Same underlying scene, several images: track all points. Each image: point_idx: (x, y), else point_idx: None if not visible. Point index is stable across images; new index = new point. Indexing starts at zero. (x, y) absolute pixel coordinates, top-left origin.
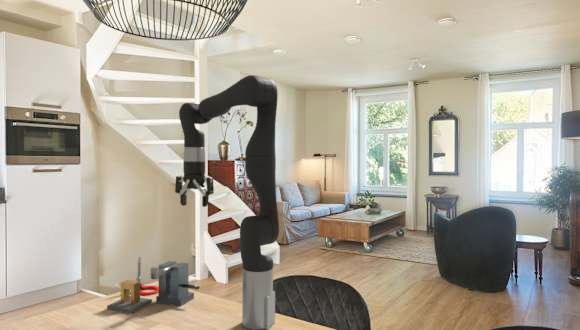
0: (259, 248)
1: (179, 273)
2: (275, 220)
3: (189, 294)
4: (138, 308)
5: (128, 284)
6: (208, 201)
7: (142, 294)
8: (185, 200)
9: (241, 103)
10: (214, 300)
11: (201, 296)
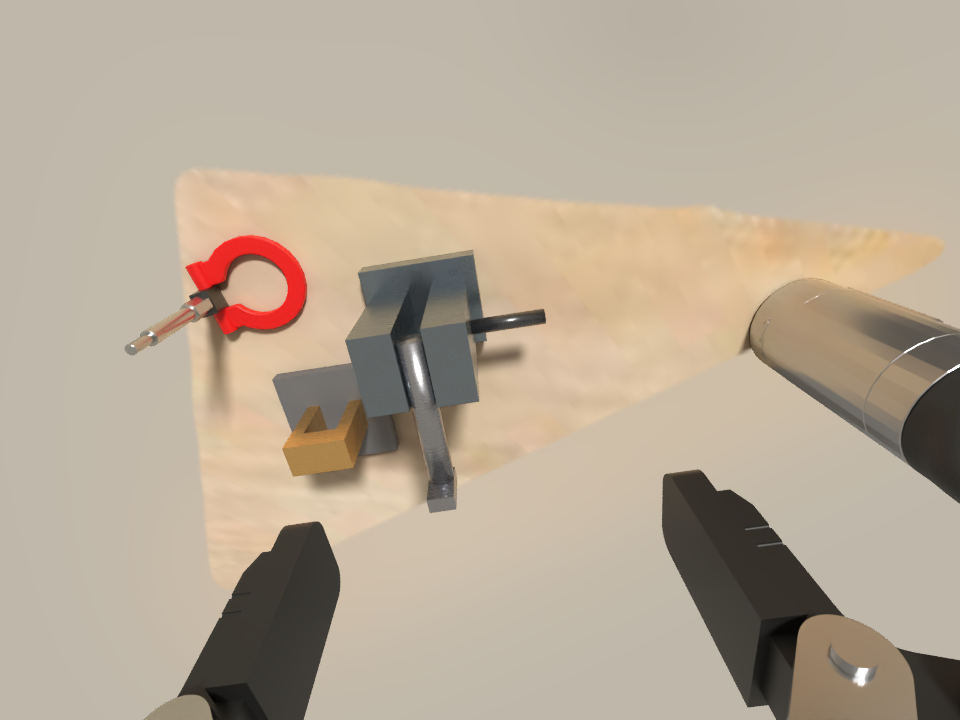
0: None
1: (477, 380)
2: None
3: (471, 279)
4: (391, 421)
5: (329, 468)
6: (773, 530)
7: (278, 325)
8: (301, 599)
9: None
10: (560, 227)
11: (485, 217)
